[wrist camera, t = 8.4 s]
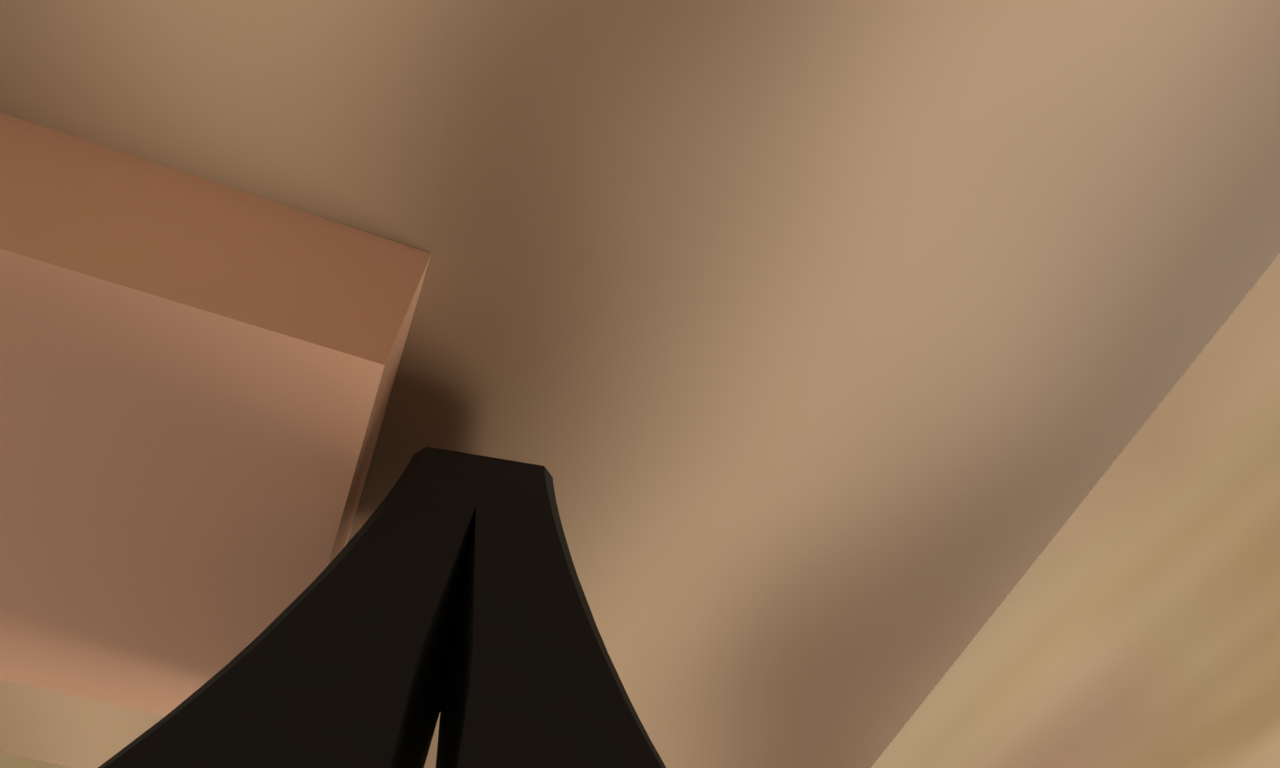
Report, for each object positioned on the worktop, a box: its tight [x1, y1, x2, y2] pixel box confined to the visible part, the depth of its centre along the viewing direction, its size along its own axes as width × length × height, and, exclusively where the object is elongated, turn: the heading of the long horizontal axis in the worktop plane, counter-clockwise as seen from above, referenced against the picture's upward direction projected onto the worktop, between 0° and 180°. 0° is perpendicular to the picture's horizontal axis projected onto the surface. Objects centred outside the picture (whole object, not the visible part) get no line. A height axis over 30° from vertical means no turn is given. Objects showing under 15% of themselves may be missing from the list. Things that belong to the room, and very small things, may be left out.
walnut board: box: [0, 0, 1280, 768], centre depth 11 cm, size 13×17×2 cm
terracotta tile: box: [0, 112, 431, 716], centre depth 9 cm, size 4×4×2 cm
